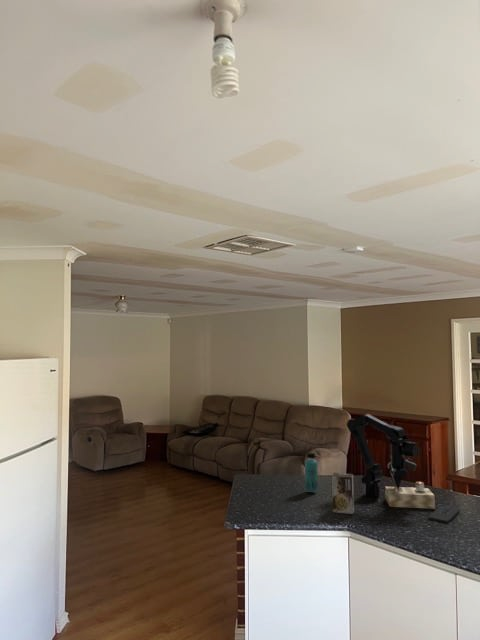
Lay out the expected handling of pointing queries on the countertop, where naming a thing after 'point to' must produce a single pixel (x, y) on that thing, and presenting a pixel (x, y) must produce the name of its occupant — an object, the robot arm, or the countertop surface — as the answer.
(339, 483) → the coffee box
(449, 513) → the smart home device
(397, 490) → the steel peg
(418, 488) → the steel peg
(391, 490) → the birch block
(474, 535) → the countertop surface
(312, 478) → the beverage bottle
